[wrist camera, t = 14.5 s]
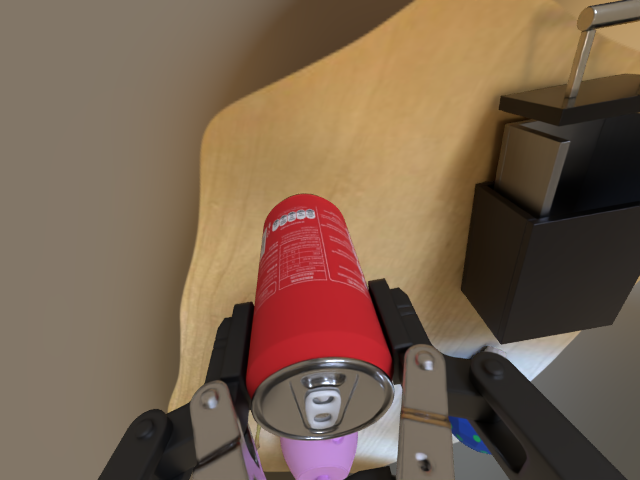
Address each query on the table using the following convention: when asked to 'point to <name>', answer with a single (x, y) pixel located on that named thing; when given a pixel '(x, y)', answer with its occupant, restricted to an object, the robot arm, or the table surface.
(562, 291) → the cabinet
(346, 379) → the beverage can
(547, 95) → the drawer
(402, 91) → the table surface
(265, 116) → the table surface
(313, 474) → the teapot
